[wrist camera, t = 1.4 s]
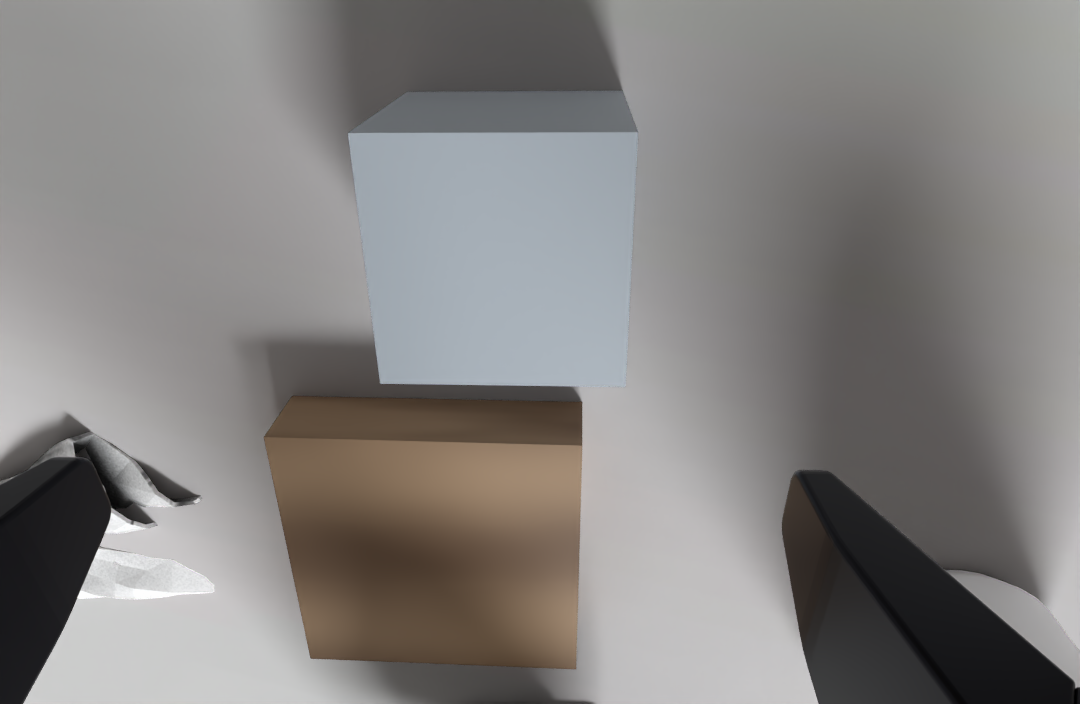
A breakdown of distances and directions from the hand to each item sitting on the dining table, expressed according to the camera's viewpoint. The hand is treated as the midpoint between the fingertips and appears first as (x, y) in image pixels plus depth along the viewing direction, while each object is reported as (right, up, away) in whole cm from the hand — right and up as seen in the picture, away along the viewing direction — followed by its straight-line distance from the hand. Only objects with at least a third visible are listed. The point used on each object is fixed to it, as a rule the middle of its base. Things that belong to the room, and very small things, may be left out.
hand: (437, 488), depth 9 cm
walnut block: (-2, -4, +18) cm, 19 cm away
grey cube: (+1, +6, +12) cm, 14 cm away
